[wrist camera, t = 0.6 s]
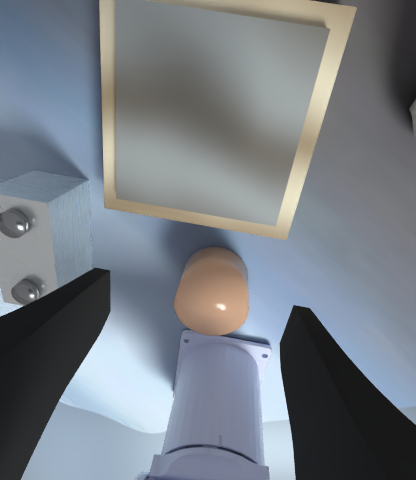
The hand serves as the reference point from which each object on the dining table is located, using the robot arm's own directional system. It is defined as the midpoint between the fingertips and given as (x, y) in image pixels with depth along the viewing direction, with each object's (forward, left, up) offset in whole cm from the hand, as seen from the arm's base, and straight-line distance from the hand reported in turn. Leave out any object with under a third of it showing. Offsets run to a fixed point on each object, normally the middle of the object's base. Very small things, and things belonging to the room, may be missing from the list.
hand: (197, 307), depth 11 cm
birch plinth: (+6, +1, -10) cm, 12 cm away
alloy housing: (-3, +11, -10) cm, 16 cm away
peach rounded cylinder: (-5, -1, -10) cm, 12 cm away
